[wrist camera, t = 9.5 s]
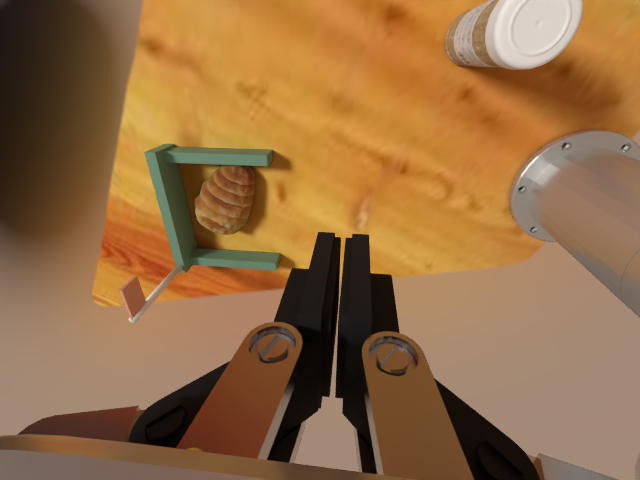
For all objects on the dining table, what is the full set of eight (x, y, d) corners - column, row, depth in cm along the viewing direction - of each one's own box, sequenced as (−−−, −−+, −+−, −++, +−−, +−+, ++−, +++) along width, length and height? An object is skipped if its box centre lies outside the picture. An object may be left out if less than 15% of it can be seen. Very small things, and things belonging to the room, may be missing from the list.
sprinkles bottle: (505, 37, 29) (603, 21, 17) (462, 77, 31) (523, 87, 19) (476, -5, 27) (559, -54, 16) (432, 40, 29) (479, 26, 18)
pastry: (221, 146, 37) (207, 155, 34) (271, 176, 38) (262, 187, 35) (196, 207, 42) (182, 220, 38) (242, 232, 43) (232, 246, 39)
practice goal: (272, 147, 36) (227, 190, 24) (280, 262, 44) (249, 337, 32) (164, 144, 37) (70, 183, 25) (191, 256, 45) (129, 326, 33)
